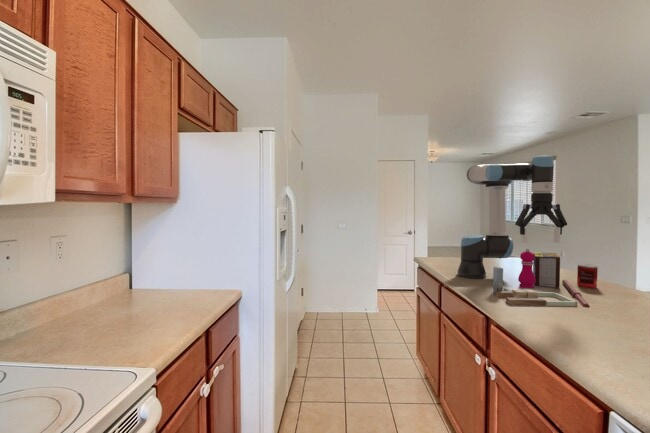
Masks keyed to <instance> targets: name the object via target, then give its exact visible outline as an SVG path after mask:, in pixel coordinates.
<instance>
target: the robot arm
mask: <svg viewBox="0 0 650 433" xmlns="http://www.w3.org/2000/svg"><path fill="white" fill-rule="evenodd" d="M554 166H555V164H554V156H552V155H537V156H533V157H532V160H531V163H509V164H508V163H505V164H504V163H490V164H489V163H488V164H487V163H486V164H485V163H483V164H482V163H481V164H477V165H473V166H470V168H469V167H468V168H469V169H467V171H466V177H467V180H468V181H469V182H470V183H471V184H475V185H485V189H486V190H487V191H488V232H487V233H486V234H485V237H484V235H481V234H477V235H475V234H473V235H472V234H471V235H466V236H464V237H462V238H461V240H460V247H461V248H460V263H459V266H458V269H457V275H458V276H460V277H461V278H468V279H485V278H487V272H486V269H485V266H484V261H483V260H484V259H509V258H510V256H511V255H512V253H513V251H514V241H513V239H512V238H511V237H510V235H509V233H507V232H506V231H507V228H506V227H507V226H506V225H507V223H506V222H507V220H506V219H507V218H506V213H507V212H506V190H507V189H509V185H511V184H512V183H513V181H523V182H530V181H531V187H530V188H531V189H530V192H531V195H530V202H531V204H529V203H524V204H523V208H522V210H521V211H520V214H519V216H518V217H517V220H516V222H515V224H514V225H515V226H517V227H519V234H520V236H521V243H523V244H527V243H528V227H527V226H528V224H529V223H530V222H531V221H532V220H533V219H534V218H535V216H537V215H540V216H541V215H546V216H547V217H548V219H550V220H551V222H552V223H553V224H554V225H555V226H554V227H553V243H556V244H557V243H558V244H560V243H561V242H560V241H561V236H562V234H563V232H562V231H563V228H565V227H566V226H567V225H568V223H567V220H566V218H565V216H564V214H563V212H562V210H561V204H560V203H553V201H554V200H553V199H554V198H553V197H554V196H553V193H552V192H553V190H554V188H553V186H554V169H555V168H554ZM552 209H553V211H552ZM530 210H531V211H530ZM529 211H530V212H529Z"/></svg>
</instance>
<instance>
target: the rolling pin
mask: <svg viewBox="0 0 650 433" xmlns="http://www.w3.org/2000/svg"><path fill="white" fill-rule="evenodd" d="M561 282H562V284H563V285H564V287H565V288H566V289H567V290H568V291H569V292H570V294H571V297H572V298H573V299H574V298H575V301H576V300H577V302H578V303H579V304H580V305H581V306H582V307H584V308H585V307H586V308H590V305H589V303H588V302H587V301H586V300H585V299H584V297H582V296H583V295H582V293H580V292H579V291H577V289H575V288H574V286H572V284H571V283H570V282H569V281H568V280H567V279H562V280H561Z"/></svg>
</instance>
